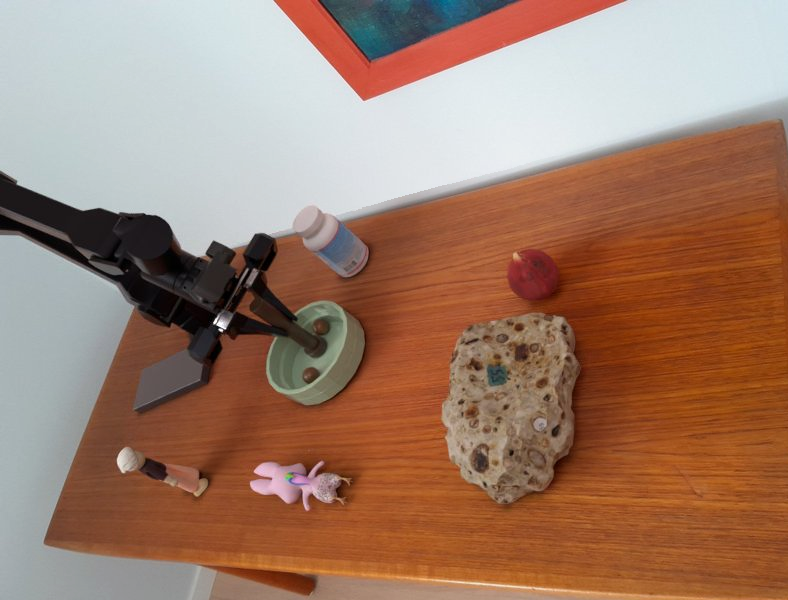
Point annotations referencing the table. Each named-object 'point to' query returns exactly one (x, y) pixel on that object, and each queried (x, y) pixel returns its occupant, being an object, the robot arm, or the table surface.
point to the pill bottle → (331, 241)
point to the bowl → (332, 364)
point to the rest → (169, 380)
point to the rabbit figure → (297, 483)
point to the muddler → (289, 327)
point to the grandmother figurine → (162, 471)
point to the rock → (511, 403)
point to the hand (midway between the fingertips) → (293, 328)
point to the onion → (532, 274)
